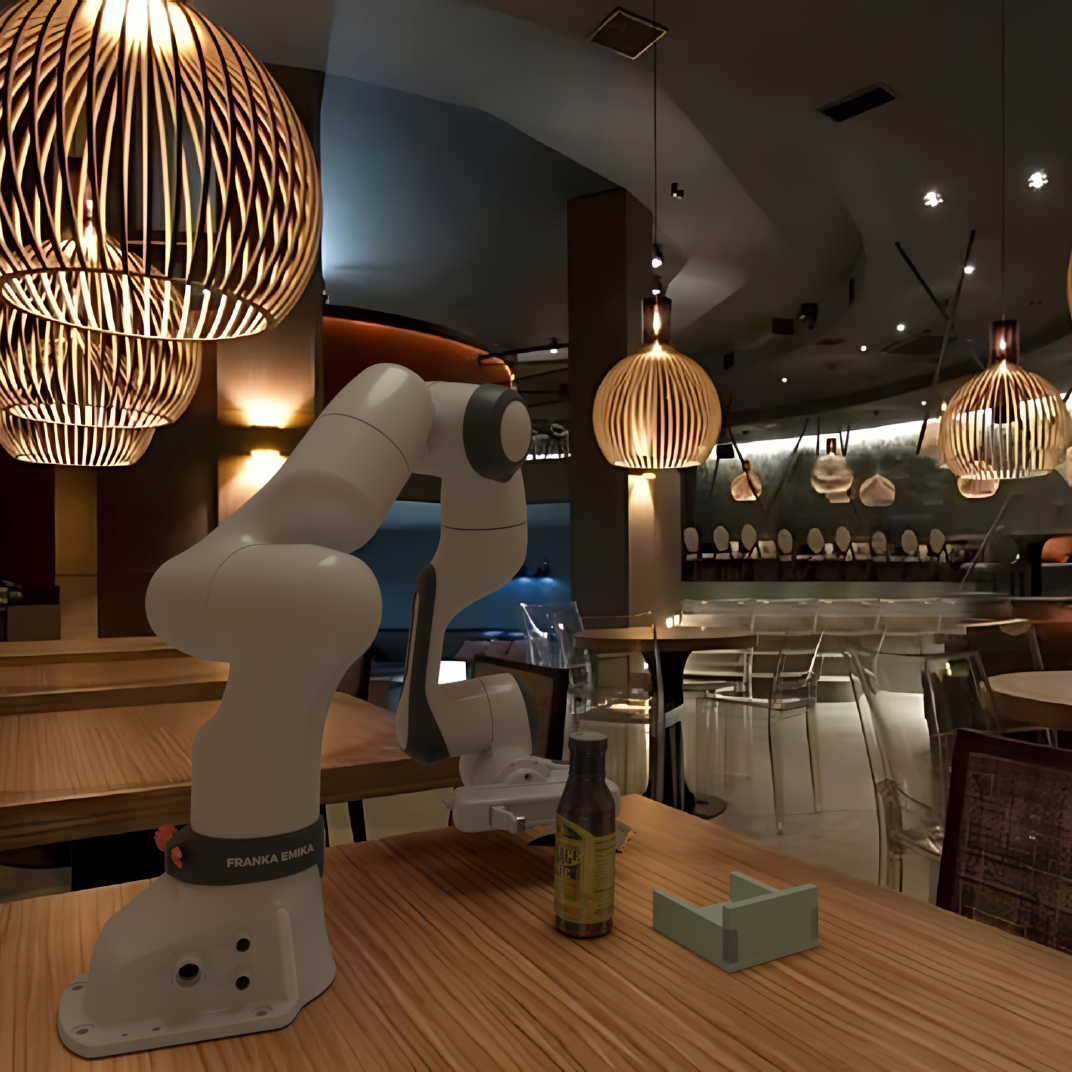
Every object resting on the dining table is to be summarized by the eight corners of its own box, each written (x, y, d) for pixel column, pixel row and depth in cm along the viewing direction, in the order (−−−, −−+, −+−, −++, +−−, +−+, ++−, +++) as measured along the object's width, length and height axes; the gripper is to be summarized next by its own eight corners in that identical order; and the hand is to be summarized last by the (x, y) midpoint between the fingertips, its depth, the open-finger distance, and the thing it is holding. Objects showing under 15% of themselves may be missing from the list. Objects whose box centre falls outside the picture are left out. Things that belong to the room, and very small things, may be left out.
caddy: (729, 973, 80) (729, 909, 80) (652, 927, 90) (652, 870, 90) (818, 946, 85) (818, 886, 86) (736, 906, 95) (736, 852, 96)
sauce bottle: (544, 920, 91) (545, 729, 92) (599, 912, 93) (599, 726, 94) (569, 946, 85) (569, 741, 86) (626, 936, 87) (626, 737, 88)
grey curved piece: (522, 849, 116) (522, 828, 116) (541, 827, 126) (541, 808, 126) (630, 859, 112) (630, 838, 112) (640, 835, 122) (641, 816, 122)
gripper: (438, 771, 106) (469, 801, 93) (592, 760, 113) (641, 785, 100) (437, 824, 105) (468, 860, 92) (592, 809, 112) (641, 841, 99)
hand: (559, 821), depth 96 cm, fingers open, 8 cm apart
